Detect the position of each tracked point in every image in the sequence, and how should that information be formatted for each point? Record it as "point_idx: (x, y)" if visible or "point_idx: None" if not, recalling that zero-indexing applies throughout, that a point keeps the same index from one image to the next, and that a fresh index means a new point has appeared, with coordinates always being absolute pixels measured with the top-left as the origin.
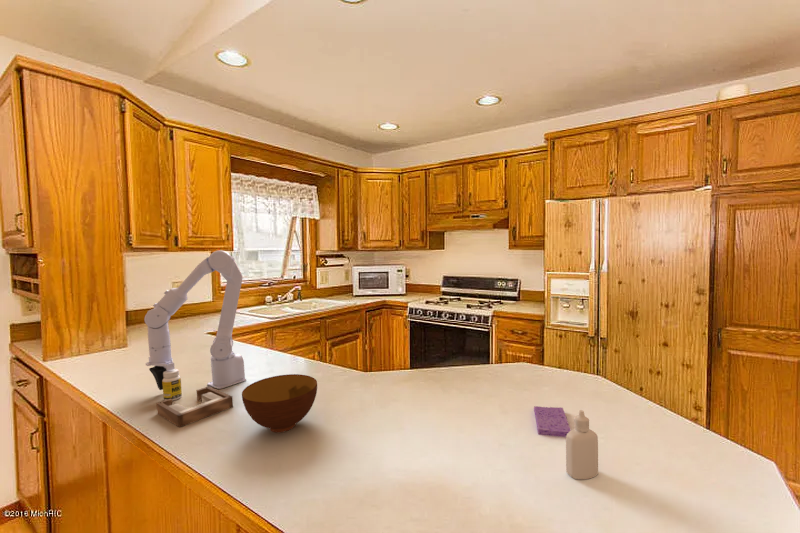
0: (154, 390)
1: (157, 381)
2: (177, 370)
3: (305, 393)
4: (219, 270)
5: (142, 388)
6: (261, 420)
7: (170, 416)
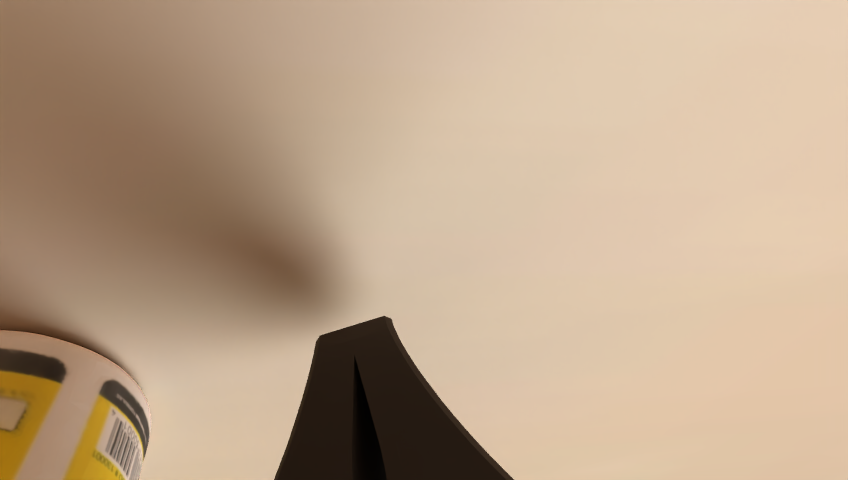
0: (595, 215)
1: (334, 451)
2: None
3: None
4: None
5: (841, 79)
6: None
7: None
